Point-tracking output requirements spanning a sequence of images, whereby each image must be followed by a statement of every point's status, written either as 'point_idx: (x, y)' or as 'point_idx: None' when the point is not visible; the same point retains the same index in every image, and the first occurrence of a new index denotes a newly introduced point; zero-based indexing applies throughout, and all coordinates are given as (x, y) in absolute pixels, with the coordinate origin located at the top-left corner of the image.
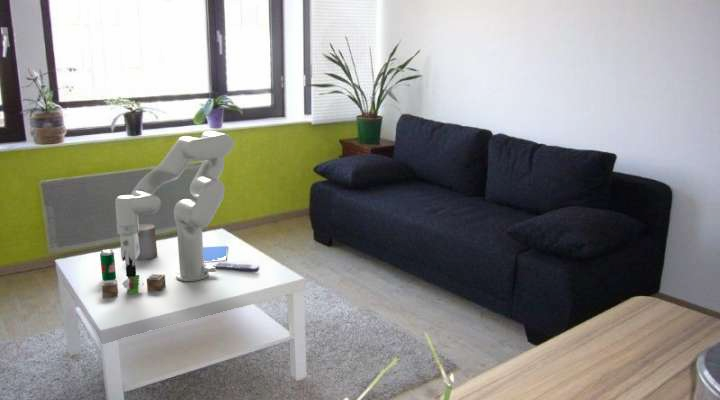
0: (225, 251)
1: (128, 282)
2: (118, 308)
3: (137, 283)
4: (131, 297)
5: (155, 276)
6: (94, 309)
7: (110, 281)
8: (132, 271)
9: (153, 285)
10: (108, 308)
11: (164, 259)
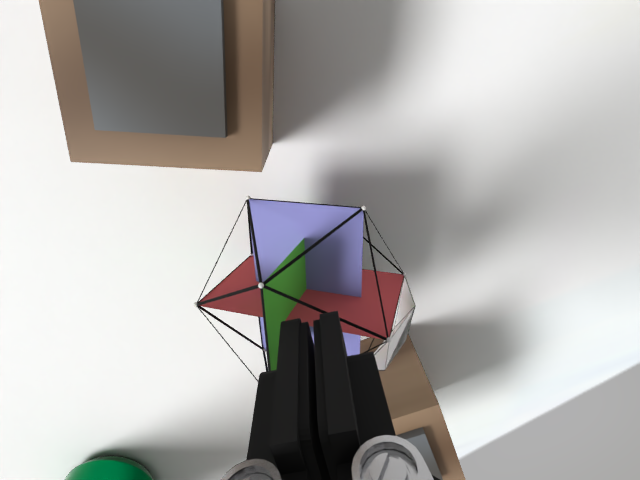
0: None
1: (405, 322)
2: (632, 231)
3: (303, 251)
4: (422, 224)
5: (170, 61)
6: (607, 364)
7: None
8: (370, 384)
9: (268, 73)
10: (613, 295)
11: None
